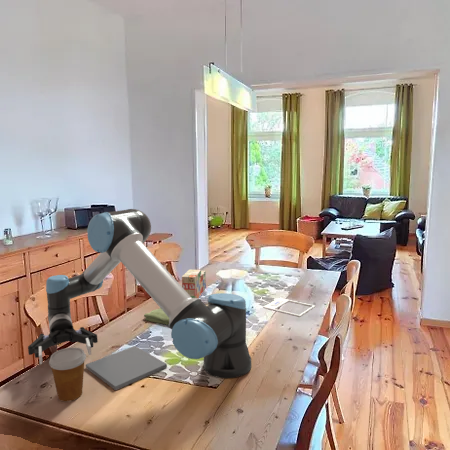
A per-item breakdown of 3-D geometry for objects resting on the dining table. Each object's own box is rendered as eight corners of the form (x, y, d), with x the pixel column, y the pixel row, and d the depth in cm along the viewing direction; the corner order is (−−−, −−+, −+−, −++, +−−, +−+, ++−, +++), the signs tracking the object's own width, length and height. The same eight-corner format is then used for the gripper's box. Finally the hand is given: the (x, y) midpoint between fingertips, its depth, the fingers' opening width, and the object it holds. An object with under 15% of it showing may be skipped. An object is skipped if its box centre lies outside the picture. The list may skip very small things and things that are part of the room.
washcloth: (162, 310, 177) (161, 303, 177) (195, 318, 168) (195, 310, 168) (141, 320, 166) (141, 313, 165) (176, 329, 157) (176, 321, 157)
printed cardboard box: (194, 287, 208) (193, 264, 206) (206, 288, 207) (205, 264, 205) (182, 301, 187) (181, 276, 185) (195, 302, 186) (194, 276, 184)
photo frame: (279, 297, 190) (315, 305, 179) (279, 299, 190) (315, 307, 179) (263, 306, 178) (300, 315, 168) (263, 308, 179) (300, 317, 168)
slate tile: (166, 367, 127) (166, 363, 127) (115, 390, 115) (115, 386, 114) (135, 349, 140) (135, 345, 140) (85, 367, 127) (85, 364, 127)
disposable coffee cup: (53, 409, 106) (50, 366, 104) (50, 391, 115) (47, 351, 113) (91, 399, 111) (88, 358, 109) (85, 382, 119) (83, 344, 117)
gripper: (99, 332, 145) (109, 358, 126) (21, 345, 135) (19, 376, 116) (98, 312, 144) (108, 335, 125) (20, 324, 133) (17, 351, 114)
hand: (65, 355), depth 120 cm, fingers open, 13 cm apart
